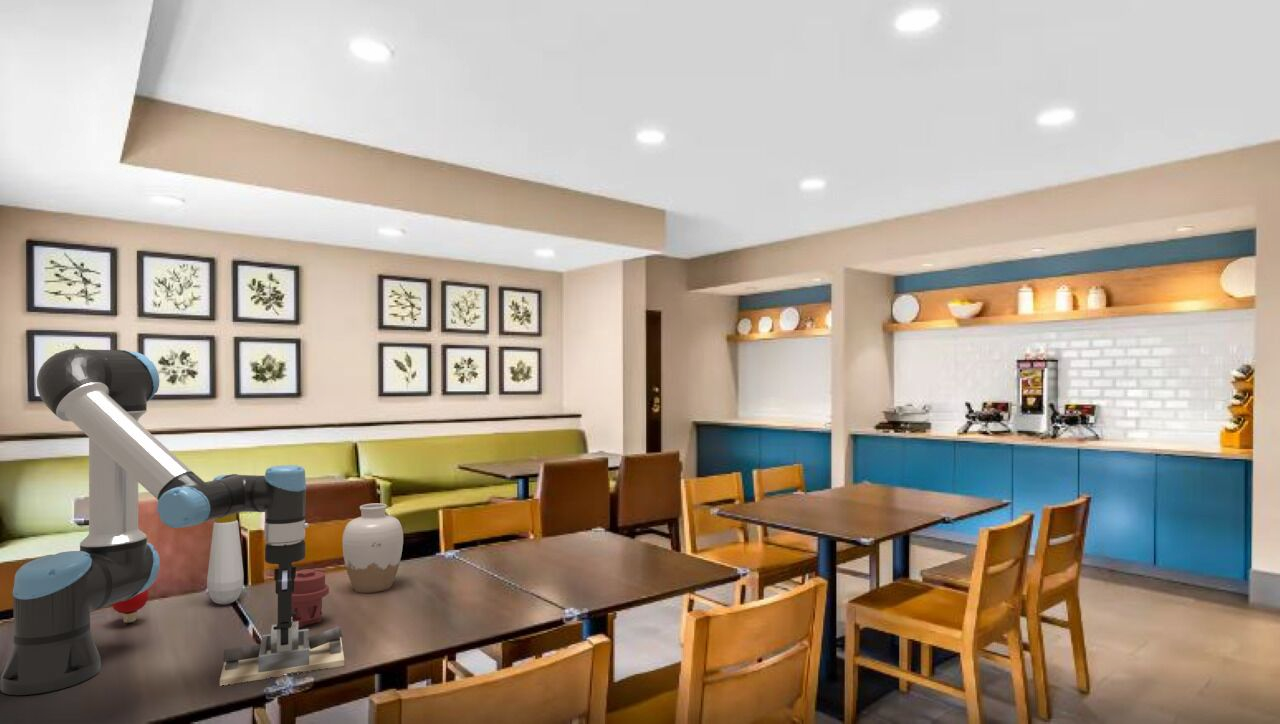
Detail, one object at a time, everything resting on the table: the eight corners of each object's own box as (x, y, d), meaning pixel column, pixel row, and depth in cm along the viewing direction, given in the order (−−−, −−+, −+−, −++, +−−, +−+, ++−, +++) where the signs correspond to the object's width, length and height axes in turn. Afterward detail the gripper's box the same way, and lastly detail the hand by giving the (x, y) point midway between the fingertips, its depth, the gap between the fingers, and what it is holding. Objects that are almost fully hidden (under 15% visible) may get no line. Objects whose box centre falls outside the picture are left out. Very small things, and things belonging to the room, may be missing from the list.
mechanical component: (337, 617, 175) (310, 632, 165) (301, 614, 177) (272, 629, 167) (337, 566, 175) (311, 578, 165) (301, 564, 177) (273, 575, 167)
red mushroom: (152, 624, 170) (152, 582, 170) (116, 632, 165) (117, 588, 165) (142, 615, 177) (142, 574, 177) (107, 622, 172) (108, 580, 172)
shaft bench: (219, 686, 136) (219, 654, 137) (226, 659, 149) (226, 630, 149) (344, 665, 146) (344, 636, 146) (341, 642, 158) (341, 615, 159)
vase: (381, 576, 210) (381, 498, 210) (414, 585, 201) (415, 504, 201) (330, 589, 197) (330, 506, 197) (364, 600, 188) (364, 513, 188)
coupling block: (270, 662, 144) (270, 629, 144) (271, 653, 149) (271, 621, 149) (298, 658, 146) (298, 626, 146) (298, 649, 151) (298, 618, 151)
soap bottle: (195, 599, 189) (196, 489, 189) (240, 592, 195) (240, 485, 195) (200, 612, 179) (200, 495, 179) (246, 604, 185) (247, 491, 185)
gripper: (305, 549, 141) (304, 667, 141) (305, 530, 158) (304, 636, 157) (262, 553, 138) (261, 674, 138) (266, 534, 154) (266, 642, 154)
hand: (284, 654), depth 147 cm, fingers open, 5 cm apart
